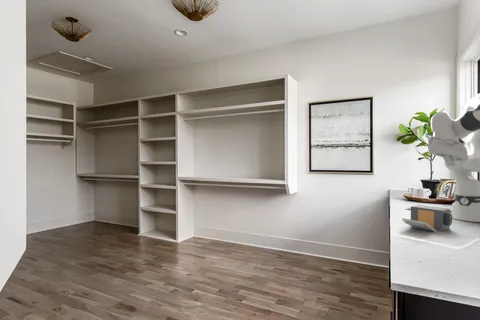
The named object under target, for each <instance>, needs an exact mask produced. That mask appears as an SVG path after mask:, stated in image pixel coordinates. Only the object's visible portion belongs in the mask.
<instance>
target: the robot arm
mask: <svg viewBox="0 0 480 320" xmlns="http://www.w3.org/2000/svg"><path fill="white" fill-rule="evenodd" d="M463 112H464V113H463V114H462V115H461V116H459V117H458V118H456V119H453V118H452V117H451V116H450V115H449V113H448V112H447V111H441V112H437V113H436V114H433V115H432V117H431V118H430V127H431V132H432V133H433V136H430V137H428V138H427V141H428V142H427V149H428V153H429V154H431V155H433V156H436V157H441V158H442V159H443V160H444V166H445V168H447V169H448V170H449V171H450V172H451V173H452V175H453V177H454V180H455V196H454V202H453V203H452V204H451V211H450V213H451V214H452V219H455V220H458V221H463V222H471V223H472V222H475V223H480V181H479V180H478V179H477V178H475V177H474V176H473V175H472V173H473V172H474V173H480V93H478V94H476V95H475V96H473V98H471V99H470V100H469V101H467V102H466V103H465V105H464V111H463ZM466 137H467V139H466V141H465V140H463V139H464V138H466ZM465 145H466V146H467V148H469V149H470V151H469V152H468V149H467V148H466V146H465Z"/></svg>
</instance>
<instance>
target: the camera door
mask: <svg viewBox="0 0 480 320" xmlns="http://www.w3.org/2000/svg"><path fill="white" fill-rule="evenodd" d="M401 220H402V221H403V222H404V224H407V225H408V226H410V227H411V228H413V229H419V230H424V231H427V232H429V231H430V232H434V233H435V232H438V231H437V230H435V229H434V228H433V227H431V226H430V225H429V224H428V223H426V222H421V221H415V220H411V218H409V219H408V218H402V219H401Z"/></svg>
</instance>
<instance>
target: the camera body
mask: <svg viewBox="0 0 480 320" xmlns="http://www.w3.org/2000/svg"><path fill="white" fill-rule="evenodd" d="M410 220H415V221H421V222H426V223H428V224H429V225H430V226H431V227H433V228H434V229H435V230H437V231H436V232H440V233H442V232H446V231H449V230H450V226H451V225H452V224H453V223H452V222H453V218H452V214H451V210H450V208H445V207H439V206H433V207H432V205H423V204H416V205H412V206H410Z"/></svg>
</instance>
